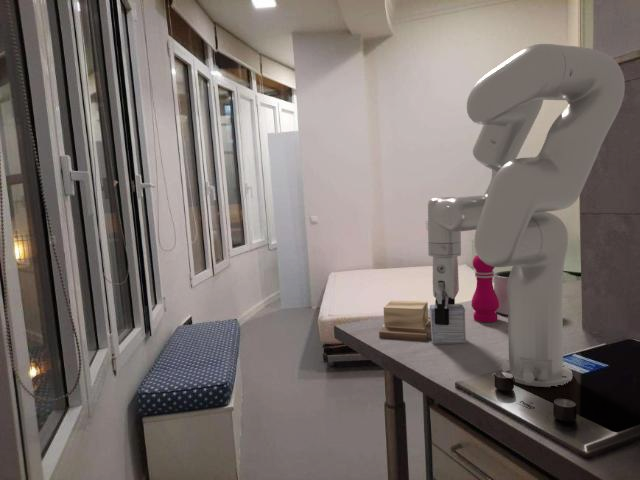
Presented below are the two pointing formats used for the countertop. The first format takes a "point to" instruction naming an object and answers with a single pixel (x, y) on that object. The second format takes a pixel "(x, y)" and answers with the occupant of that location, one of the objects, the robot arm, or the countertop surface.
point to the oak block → (406, 314)
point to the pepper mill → (484, 293)
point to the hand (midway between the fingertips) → (445, 318)
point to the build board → (407, 332)
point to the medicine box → (449, 326)
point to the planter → (502, 291)
